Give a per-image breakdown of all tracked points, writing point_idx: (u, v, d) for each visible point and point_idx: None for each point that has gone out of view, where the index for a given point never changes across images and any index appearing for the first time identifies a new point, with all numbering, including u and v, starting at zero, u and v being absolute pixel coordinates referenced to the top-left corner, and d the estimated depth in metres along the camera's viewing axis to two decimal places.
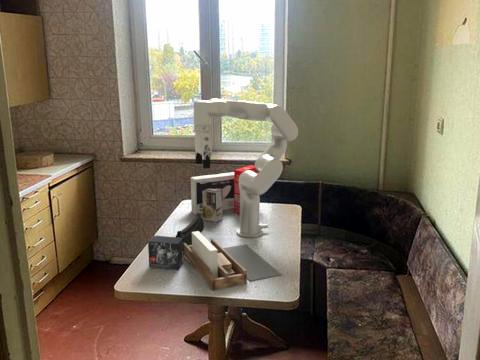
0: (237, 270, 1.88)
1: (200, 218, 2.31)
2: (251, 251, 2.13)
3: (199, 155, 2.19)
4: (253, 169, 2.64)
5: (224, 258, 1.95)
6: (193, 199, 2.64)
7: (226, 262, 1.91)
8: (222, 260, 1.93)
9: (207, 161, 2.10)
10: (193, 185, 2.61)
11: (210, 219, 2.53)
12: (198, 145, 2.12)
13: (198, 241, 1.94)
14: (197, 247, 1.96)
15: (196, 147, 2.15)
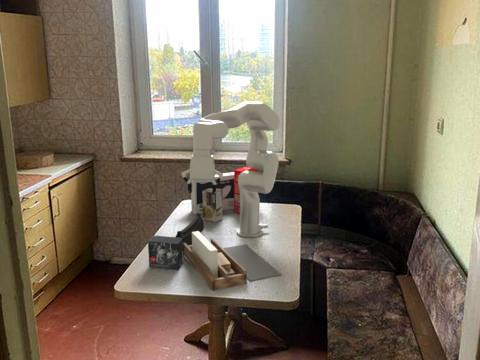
0: (237, 270, 1.88)
1: (200, 218, 2.31)
2: (251, 251, 2.13)
3: (191, 183, 1.98)
4: (253, 169, 2.64)
5: (224, 258, 1.95)
6: (193, 199, 2.64)
7: (225, 262, 1.91)
8: (221, 260, 1.93)
9: None
10: (193, 185, 2.61)
11: (210, 219, 2.53)
12: (204, 171, 1.94)
13: (198, 241, 1.94)
14: (197, 247, 1.96)
15: (197, 174, 1.95)
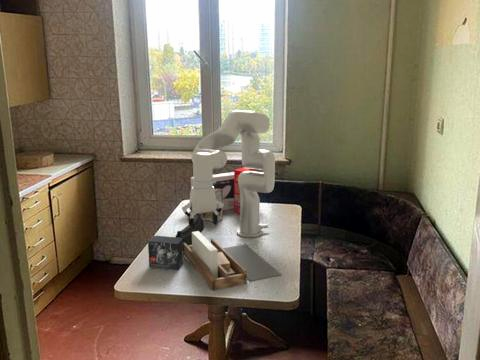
0: (237, 270, 1.88)
1: (200, 218, 2.31)
2: (251, 251, 2.13)
3: None
4: (253, 169, 2.64)
5: (224, 257, 1.96)
6: None
7: (225, 262, 1.91)
8: (221, 259, 1.94)
9: None
10: None
11: (210, 219, 2.53)
12: (207, 203, 1.86)
13: (198, 241, 1.94)
14: (197, 247, 1.96)
15: (200, 207, 1.85)
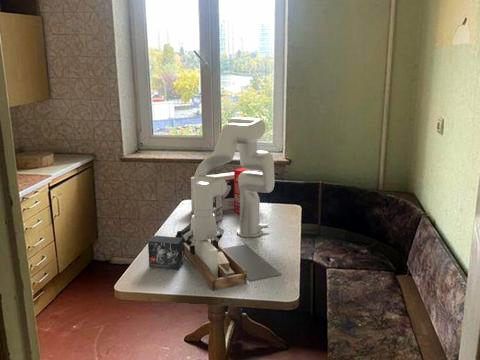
0: (237, 270, 1.88)
1: None
2: (251, 251, 2.13)
3: None
4: None
5: (223, 257, 1.96)
6: (193, 199, 2.64)
7: (224, 261, 1.92)
8: (220, 259, 1.94)
9: None
10: None
11: None
12: (208, 231, 1.89)
13: (198, 241, 1.94)
14: (197, 247, 1.96)
15: (201, 235, 1.89)
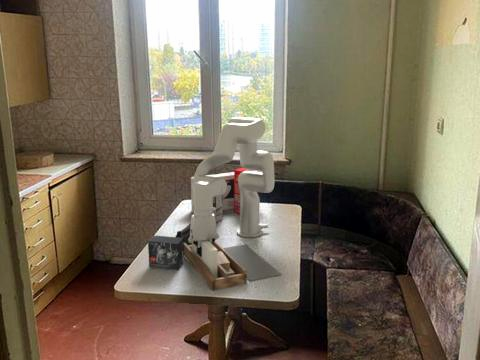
0: (237, 270, 1.88)
1: None
2: (251, 251, 2.13)
3: None
4: None
5: (223, 257, 1.96)
6: (193, 199, 2.64)
7: (224, 261, 1.92)
8: (221, 259, 1.94)
9: None
10: None
11: None
12: (208, 231, 1.89)
13: None
14: None
15: (201, 235, 1.89)
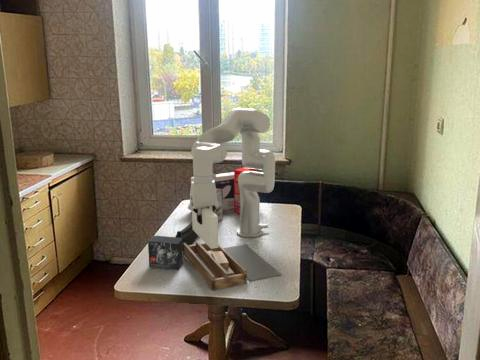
0: (237, 270, 1.88)
1: None
2: (251, 251, 2.13)
3: None
4: (253, 169, 2.64)
5: (223, 256, 1.96)
6: None
7: (223, 261, 1.92)
8: (220, 258, 1.94)
9: None
10: None
11: None
12: (208, 198, 1.86)
13: None
14: None
15: (201, 202, 1.85)
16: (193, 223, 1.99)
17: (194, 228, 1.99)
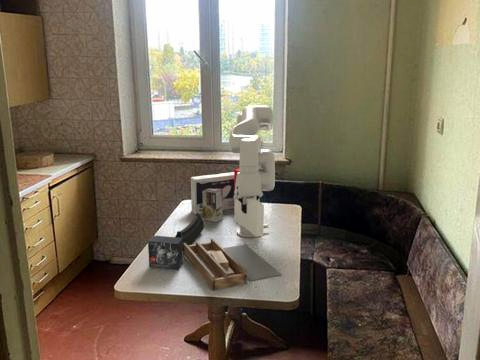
0: (237, 270, 1.88)
1: (200, 218, 2.30)
2: (251, 251, 2.13)
3: None
4: None
5: (222, 256, 1.97)
6: (193, 199, 2.64)
7: (223, 261, 1.92)
8: (220, 258, 1.95)
9: None
10: (193, 185, 2.61)
11: (210, 219, 2.53)
12: (253, 188, 1.93)
13: None
14: None
15: (246, 191, 1.92)
16: (236, 213, 2.06)
17: (236, 218, 2.06)
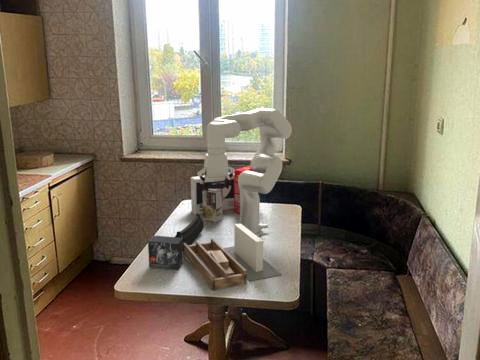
0: (237, 270, 1.88)
1: (199, 218, 2.30)
2: None
3: None
4: None
5: (222, 255, 1.97)
6: (193, 199, 2.64)
7: (223, 260, 1.93)
8: (219, 257, 1.95)
9: None
10: (193, 185, 2.61)
11: (210, 219, 2.53)
12: (220, 168, 2.05)
13: (242, 233, 2.02)
14: (240, 238, 2.04)
15: (214, 172, 2.04)
16: (236, 245, 2.10)
17: (236, 251, 2.10)
